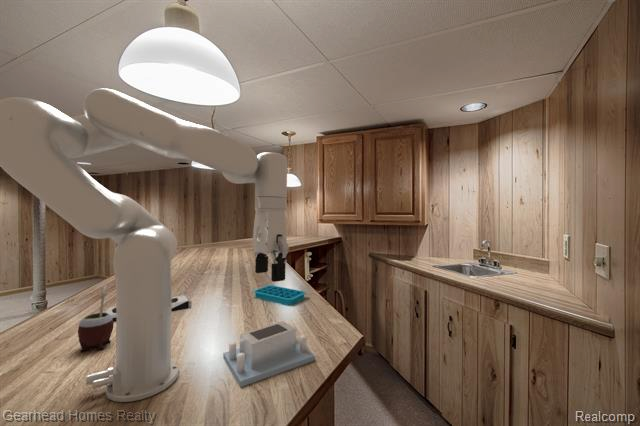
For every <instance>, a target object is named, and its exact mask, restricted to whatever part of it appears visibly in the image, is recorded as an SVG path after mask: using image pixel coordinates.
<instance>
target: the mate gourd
mask: <svg viewBox="0 0 640 426" xmlns="http://www.w3.org/2000/svg"><path fill="white" fill-rule="evenodd" d="M107 287H108V283H104V286H103V289H102V292H101V295H100V298H101V299H100V309H99V312H97V313H93V314H90V315H86V316H85V317H83V318H82V319H81V321H80V322H79V325H78V327H77V328H78V329H77V337H78V340H79V341H78V343H79V346H80V348H81V349H80V353H81V354H84V353H85V352H88V351H92V350H94V349H95V350H97V351H99V352H101V351H103V350H104V347H103V346H105V345H109V344H110V343H111V341H112V340H110V339H111V335H112V333H113V330H114V322H113V319H112V316H111V315H110V314H108V313H106V312H103V310H104V302H105V298H106V294H105V293H106V289H107Z"/></svg>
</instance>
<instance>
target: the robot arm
mask: <svg viewBox="0 0 640 426" xmlns="http://www.w3.org/2000/svg"><path fill="white" fill-rule="evenodd" d="M82 108H83V112H84V114H82V115H77V116H76V115H75V116H71V117H70V116H69V115H67V114H66V113H63V112H61V111H60V110H58V109H57V108H55V107H53V106H52V105H50V104H47V103H45V102H43V101H40V100H37V99H33V98H28V97H20V96H13V97H7V98H2V99H0V168H1V169H2V170H3V171H4V172H5V173H7V175H9V176H10V177H11V178H12V179H13V180H14V181H16V182H17V183H18V184H19V185H21V186H22V187H24V189H26V190H27V191H29V193H31V194H32V195H34V196H35V197H36V198H37V199H39V200H40V201H41V202H42V203H43V204H44V205H45V206H47V207H48V208H49V209H50V210H51V211H53V212H54V213H55V214H57V215H58V216H59V217H61V218H62V219H63V220H65V221H66V222H67V223H68V224H69V225H70V226H72V227H73V228H74V229H76V230H77V231H78V232H79V233H80V234H82V235H84V236H86V237H88V238H91V239H97V240H98V239H99V240H100V239H111V240H112V241H113V242H115V243H116V244H117V245H116V247H115V250H114V253H113V258H112V263H113V265H112V266H113V273H114V280H115V292H116V293H115V295H116V296H115V297H116V301H115V304H116V306H115V307H116V312H117V321H115V322H116V326H115V327H116V329H115V330H116V336H115V337H116V338H115V339H116V340H115V342H116V343H115V351H116V352H115V361H114V364H113V365H112V366H108V368H107V369H105V370H101V371H95V372H91V373H87V374H86V377H85V378H86V379H85V385H86V386H90V385H92V389H93V390H95V389H98V388H102V387H103V386H105V396H106V398H108V399H109V400H111V401H113V402H119V403H129V402H137V401H140V400H141V401H142V400H144V399H147V398H151V397H152V396H155V395H157V394H158V393H161V392H163V391H164V390H166V389H167V388H169V387H170V386H171V385H172V384H174V383H175V381H176V380H177V378H178V377H179V373H180V367H179V365H178V364H177V362H175V361H172V311H171V303H172V302H171V298H172V297H173V295H172V290H173V289H172V273H171V271H172V269H171V268H172V267H171V266H172V260H173V259H174V257H175V256H176V254H177V252H178V239H177V238H176V236H175V235H174V233H173V232H172V231H171V230H170V229H169V228H168V227H166V226H165V224H163V223H162V222H161V221H159V219H157V218H156V217H155V216H154V215H152V214H151V213H150V211H148V210H147V209H146V208H144V206H142V205H141V204H139V203H138V202H137V201H136V200H135V199H133V198H131V197H129V196H127V195H126V194H120V193H117V192H114V191H111V190H109V189H108V188H106V187H104V185H102V184H101V183H99V182H98V181H97V180H96V179H94V178H93V177H92V176H91V175H90V174H89V173H88V172H87V171H86V170H85V169H84V168H82V167H81V166H80V165H79V164H77V163H76V162H74V161H73V160H71V159H76V158H77V159H78V158H82V157H87V156H90V155H94V154H97V153H102V152H106V151H111V150H113V149H117V148H121V147H125V146H128V145H131V144H134V145H136V146H138V147H141V148H144V149H146V150H148V151H151V152H153V153H155V154H158V155H160V156H163V157H166V158H169V159H179V160H181V159H183V160H188V161H190V162H193V163H198V164H200V165H203V166H205V167H208V168H210V169H213V170H215V171H217V172H219V173H222V176H223V177H224V178H225V179H226V180H227V181H228V182H230V183H232V184H238V185H241V184H254V211H255V215H254V222H253V233H252V249H253V250H254V251H255V253H254V256H255V264H254V265H255V266H254V267H255V269H254V270H255V273H256V274H262V273H268V271H269V256H268V255H269V254H270V256H271V259H272V263H271V270H270V271H271V277H270V278H271V279H270V281H271V282H273V283H276V282H282V281H285V280H286V265H287V262H288V261H287V259H288V255H289V250H290V245H289V244H288V242H287V237H288V235H287V220H286V219H287V218H286V212H287V202H288V201H287V200H288V199H287V197H288V196H287V195H288V194H287V193H288V158H287V157H286V155H284V154H281V153H279V152H269V151H268V152H261V153H259V154H257V153H256V152H255V151H254V150H253V148H252V147H250V146H249V145H248V144H246V143H244V142H242V141H240V140H238V139H236V138H234V137H232V136H230V135H227V134H226V133H223V132H221V131H218V130H216V129H214V128H212V127H208V126H204V125H202V124H196V123H194V122H190V121H186V120H183V119H181V118H178V117H175V116H174V115H171V114H169V113H167V112H164V111H162V110H160V109H158V108H156V107H153V106H152V105H151V106H150V105H149V104H146V103H145V102H143V101H140V100H138V99H136V98H135V97H131V96H129V95H127V94H125V93H122V92H120V91H117V90H115V89H110V88H95V89H94V90H91V91H90V92H89V93H87V95H86V96H85V97H84V100H83V103H82Z"/></svg>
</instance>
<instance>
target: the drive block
mask: <svg viewBox="0 0 640 426" xmlns="http://www.w3.org/2000/svg"><path fill="white" fill-rule="evenodd" d="M294 327H295V326H293V327H292V325H290V324H289V323H287V322H285V321H283V320H282V321H279V322H276V323H273V324H270V325H266V326H263V327H262V326H261V327H260V328H255V329H253V330H250V331H247V332H244V333H239V349H240V353H245V364H247V365H248V366H249V367H250V368H251V369H254V368H256V367H258V366H261V365H263V364H266V363H268V362H270V361H273V360H275V359H278V358H280V357H283V356H285V355H287V354H290V353H292V352H295V351H296V340H297V328H296V327H295V328H294Z"/></svg>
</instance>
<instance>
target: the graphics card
mask: <svg viewBox="0 0 640 426" xmlns="http://www.w3.org/2000/svg"><path fill="white" fill-rule="evenodd" d="M171 302H172V303H171V312H175V311H180V310H181V311H182V310H186V309H187V310H188V309H192V300H189V299H188V296H187V295H186V294H184V295H183V294H182V295H178V296H171ZM105 313H108V314H110V315H111V316H112V319H113V323H114V322H117V312H116V306H112V307H111V306H110V307H107V309H106V311H105Z"/></svg>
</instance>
